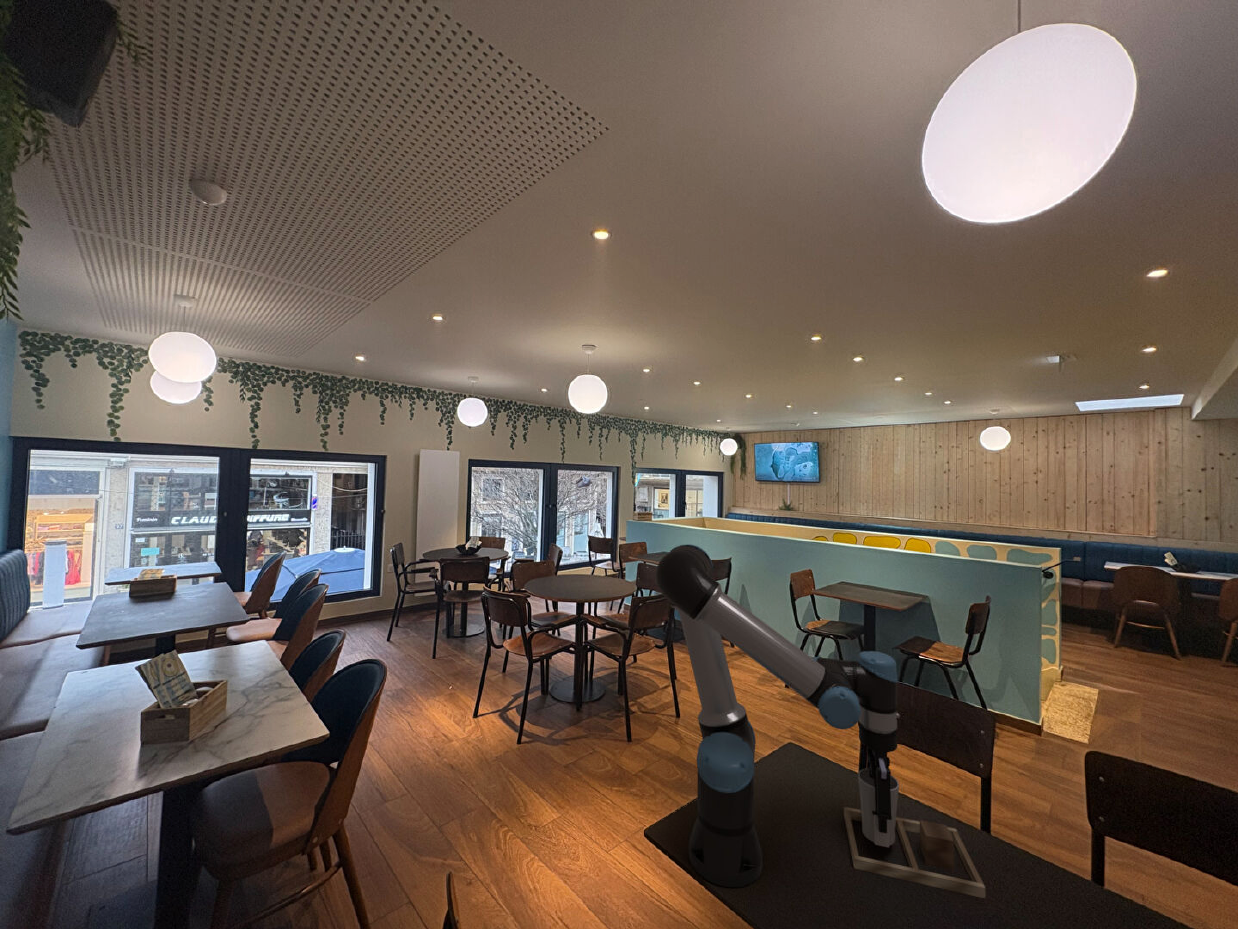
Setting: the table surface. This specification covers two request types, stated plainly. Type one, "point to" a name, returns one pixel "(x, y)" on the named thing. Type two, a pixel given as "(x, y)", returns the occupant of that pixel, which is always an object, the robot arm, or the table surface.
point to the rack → (912, 872)
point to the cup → (869, 804)
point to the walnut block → (936, 845)
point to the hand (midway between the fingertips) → (878, 831)
